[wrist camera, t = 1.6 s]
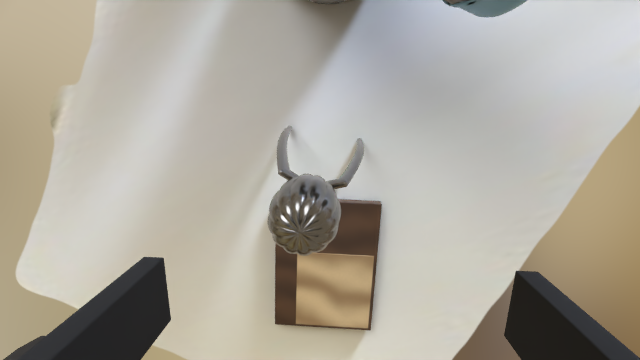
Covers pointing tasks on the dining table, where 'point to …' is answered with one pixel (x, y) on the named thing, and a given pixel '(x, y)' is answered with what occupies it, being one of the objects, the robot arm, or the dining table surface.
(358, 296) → the board
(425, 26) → the dining table surface
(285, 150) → the juicer
